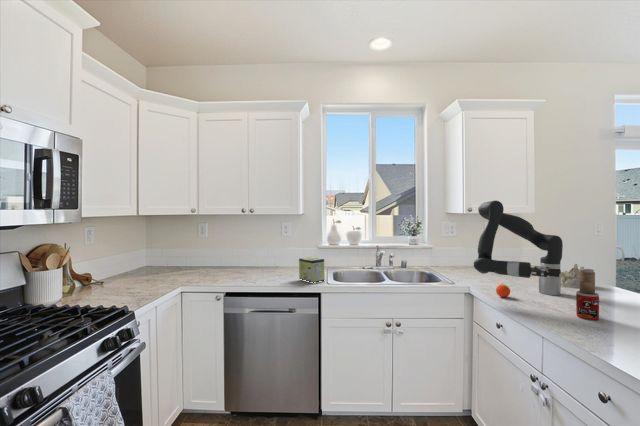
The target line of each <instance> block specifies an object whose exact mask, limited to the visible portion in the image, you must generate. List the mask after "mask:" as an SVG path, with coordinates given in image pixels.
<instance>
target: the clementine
mask: <svg viewBox="0 0 640 426" xmlns="http://www.w3.org/2000/svg"><path fill="white" fill-rule="evenodd" d="M495 292H496V294H497V295H498V296H499V297H501V298H507V297H509V296H510V294H511V288H510V287H509V286H508V285H506V284H504V283H501V284H498V285H497V286H496V287H495Z"/></svg>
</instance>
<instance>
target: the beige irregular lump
mask: <svg viewBox="0 0 640 426" xmlns="http://www.w3.org/2000/svg"><path fill="white" fill-rule="evenodd" d="M578 267H579V266H578V264H577V263H574V265H573V267H571V269H569V271H567V270H565V271H561V287H563V288H569V289H578V290H580V271H581V269H585V266H582V265H581V266H580V268H578Z"/></svg>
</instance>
